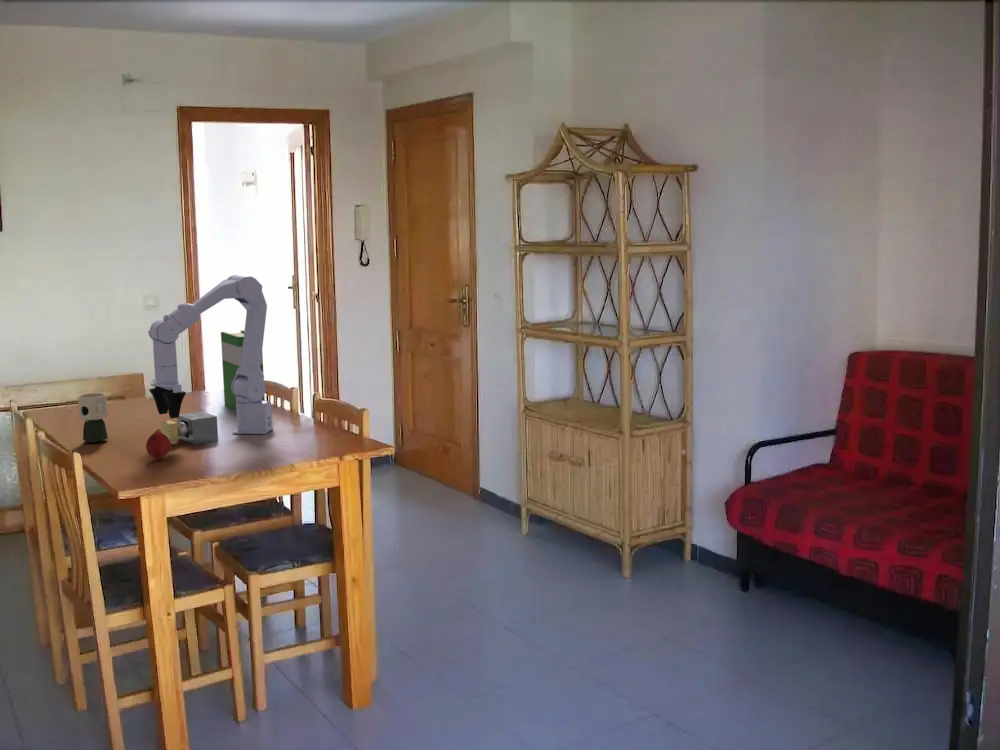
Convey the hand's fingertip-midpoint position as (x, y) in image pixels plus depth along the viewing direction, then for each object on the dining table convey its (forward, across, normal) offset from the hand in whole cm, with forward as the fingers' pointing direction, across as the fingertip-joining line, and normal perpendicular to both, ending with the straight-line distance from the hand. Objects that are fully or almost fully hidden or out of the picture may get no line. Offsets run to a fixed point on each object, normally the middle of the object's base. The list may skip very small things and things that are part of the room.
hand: (168, 415), depth 262 cm
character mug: (+8, -17, -14) cm, 23 cm away
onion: (+8, +16, -9) cm, 20 cm away
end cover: (+7, 0, +3) cm, 7 cm away
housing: (+8, 0, +8) cm, 11 cm away
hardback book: (+8, -34, +38) cm, 51 cm away
